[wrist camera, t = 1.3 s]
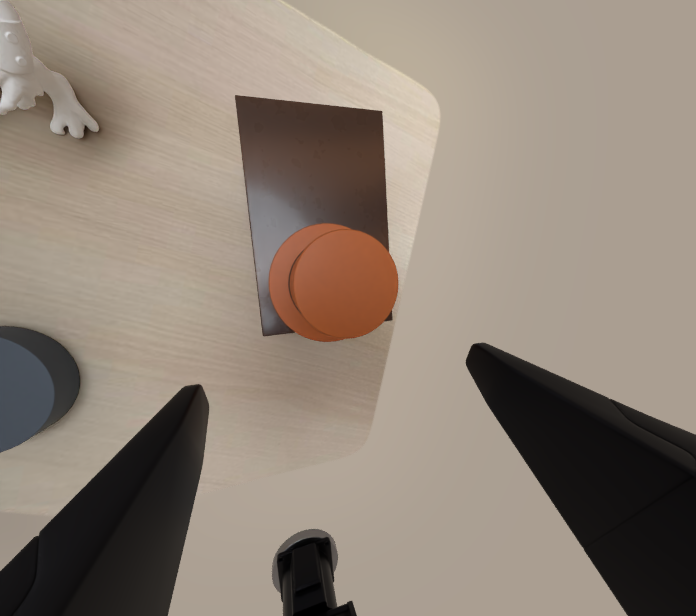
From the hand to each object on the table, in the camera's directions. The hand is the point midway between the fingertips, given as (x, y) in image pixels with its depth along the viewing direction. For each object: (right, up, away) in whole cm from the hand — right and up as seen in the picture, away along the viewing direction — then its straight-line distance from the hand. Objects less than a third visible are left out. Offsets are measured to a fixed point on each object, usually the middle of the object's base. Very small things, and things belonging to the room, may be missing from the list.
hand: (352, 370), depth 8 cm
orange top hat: (-1, +4, +8) cm, 9 cm away
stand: (-27, -4, +12) cm, 30 cm away
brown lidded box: (-4, +9, +17) cm, 19 cm away
